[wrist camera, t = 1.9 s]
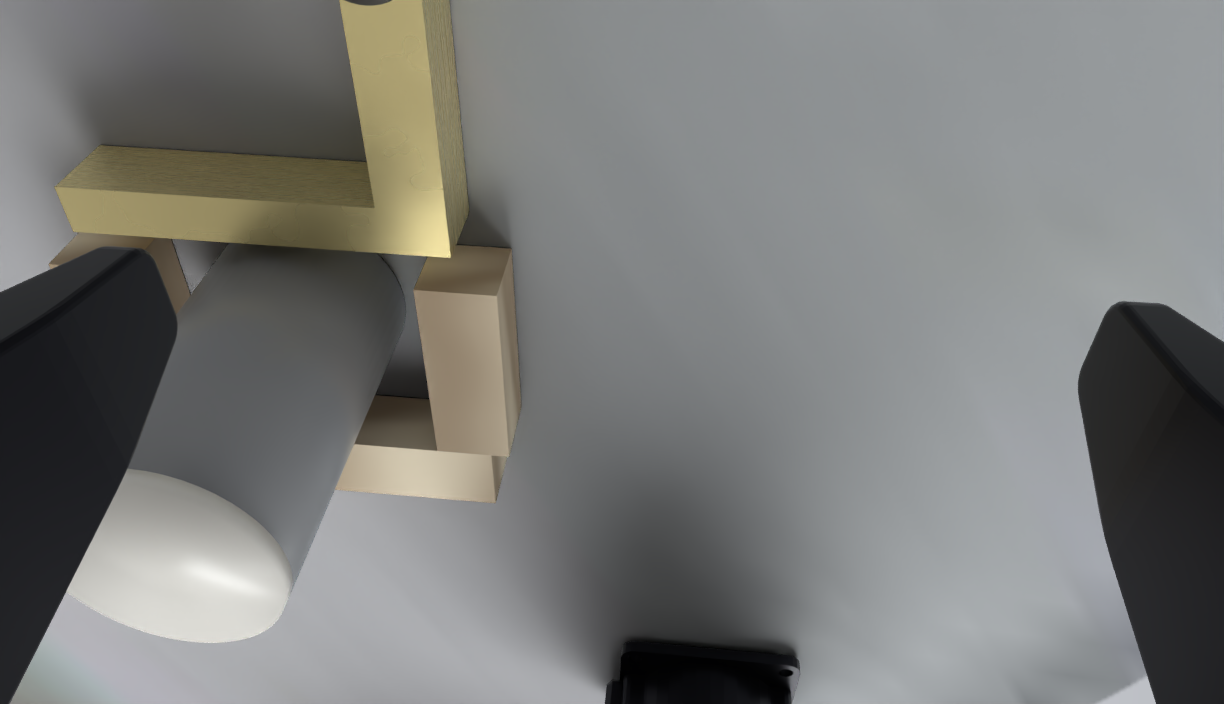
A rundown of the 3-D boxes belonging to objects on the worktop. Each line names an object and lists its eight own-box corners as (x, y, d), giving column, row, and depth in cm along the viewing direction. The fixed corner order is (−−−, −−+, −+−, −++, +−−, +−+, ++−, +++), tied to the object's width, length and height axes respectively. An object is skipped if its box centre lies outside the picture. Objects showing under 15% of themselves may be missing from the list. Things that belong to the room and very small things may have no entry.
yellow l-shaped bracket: (447, -187, 17) (408, -152, 15) (481, 212, 23) (455, 279, 21) (-33, -207, 18) (-135, -175, 16) (116, 188, 23) (54, 250, 21)
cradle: (511, 248, 23) (496, 295, 22) (524, 454, 28) (513, 504, 27) (91, 219, 24) (48, 264, 22) (174, 425, 29) (144, 473, 27)
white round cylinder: (392, 223, 23) (253, 496, 16) (416, 372, 26) (308, 653, 20) (199, 210, 23) (-18, 473, 17) (245, 359, 27) (80, 630, 20)
